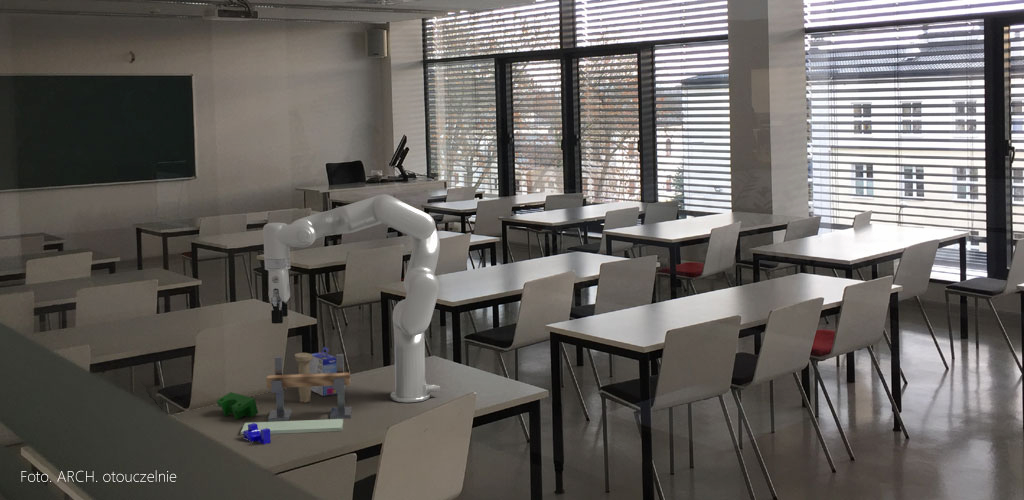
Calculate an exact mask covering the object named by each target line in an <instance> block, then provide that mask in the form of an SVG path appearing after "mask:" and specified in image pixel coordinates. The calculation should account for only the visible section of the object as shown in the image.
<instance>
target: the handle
mask: <svg viewBox="0 0 1024 500" xmlns="http://www.w3.org/2000/svg"><path fill="white" fill-rule="evenodd" d="M312 354H313V353H310V352H309V353H308V352H298V353H295V354H294V359H295V361H296V362H298V374H310V367H309V362H310V361H311V360H312V359H313V357H312ZM297 388H298V394H299V397H300V398H299V401H300V403H309V402H310V401H311V394H312V391H311V386H310V387H297Z"/></svg>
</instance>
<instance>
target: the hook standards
mask: <svg viewBox="0 0 1024 500" xmlns="http://www.w3.org/2000/svg"><path fill="white" fill-rule="evenodd" d="M335 357H336V366H337V373H345V370H344V368H345V367H344V366H345V364H344V353H339V354H338V353H337V354H336V355H335ZM274 372H275V373H274V375H284V365H283V355H277V356H276V355H275V357H274ZM270 389H271V394H274V393H275V401H276V402H275V403H276V404H275V405H276V409H271V410H270V412H269V414H268V416H267V417H268V418H267V422H279V421H290V419H291V416H292V412H293V410H292V409H291V408H290V409H285V394H284V393H285V391H284V389H285V387H283V388H282V380H271V388H270ZM334 390H337V394H336V395H337V396H336V397H337V407H331V410H330V415H329V419H352V412H353V407H352V406H346V405H345V404H346V403H345V401H346V400H345V396H346V395H345V391H346V385H345V382H344V378H334Z"/></svg>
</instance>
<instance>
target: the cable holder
mask: <svg viewBox="0 0 1024 500" xmlns="http://www.w3.org/2000/svg"><path fill="white" fill-rule="evenodd" d="M251 423H252V424H248V430H246V431H243V434H244V435H243V439H244V438H246V439H248V440H250V441H251V442H250V443H253V442H252V441H255V442H257V441H258V443H260V444H262V445H268V444H271V443H270V442H271V441H272V440H271V434H270V429H268V428H265V429H262V430H261V433H260V432H259V430H258V427H257V424H256V423H254V422H251ZM267 443H268V444H267Z"/></svg>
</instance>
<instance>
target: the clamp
mask: <svg viewBox="0 0 1024 500" xmlns="http://www.w3.org/2000/svg"><path fill="white" fill-rule="evenodd" d="M255 399H256V398H254V397H251V396H247V395H243V394H240V393H235V392H231V391H230V392H228V393H227V394H226V395H224V396H222V397H220V398H218V399H217V400H216V403H217V406H218V407H220V408H222V413H223V415H224V417H227V416H229V415H232V414H233V416H234V419H235V420H238V419H240V418H242V417H243V416H246V417H248V418H249V417H250V418H253V417H255V416H256V415H257V414H259V411H258V410H259V409H258V406H257V402H256V400H255Z"/></svg>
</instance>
